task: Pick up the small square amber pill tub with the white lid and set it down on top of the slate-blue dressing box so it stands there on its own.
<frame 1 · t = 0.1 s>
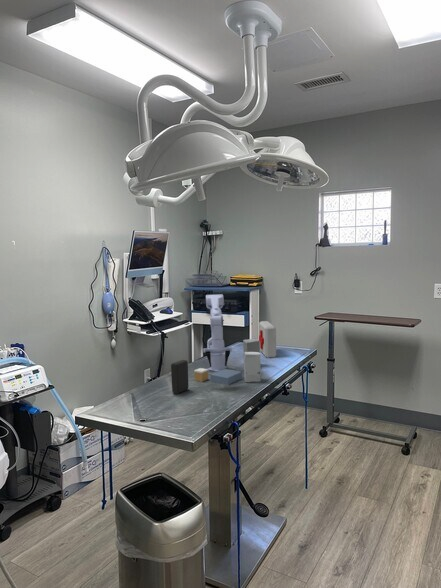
hand: (218, 366, 219), 10 cm above the table, tool pointing down, fingers open, 7 cm apart
dressing box: (226, 380, 232), on the table
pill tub: (201, 379, 233), on the table
card reader: (180, 391, 215), on the table
skincare box: (251, 366, 256), on the table
skincare box 2: (252, 380, 229), on the table
bevelled white case: (266, 354, 283), on the table
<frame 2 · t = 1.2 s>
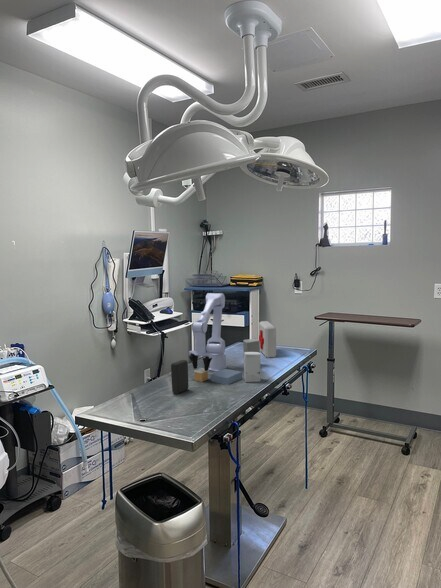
hand: (200, 369, 232), 6 cm above the table, tool pointing down, fingers open, 7 cm apart
nothing on the table moved.
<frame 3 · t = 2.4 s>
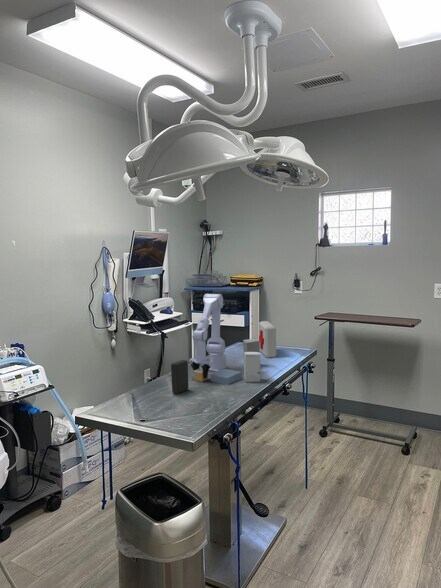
hand: (201, 377, 233), 1 cm above the table, tool pointing down, fingers closed on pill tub, 5 cm apart
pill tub: (201, 379, 233), on the table, touching gripper
everything else where it was.
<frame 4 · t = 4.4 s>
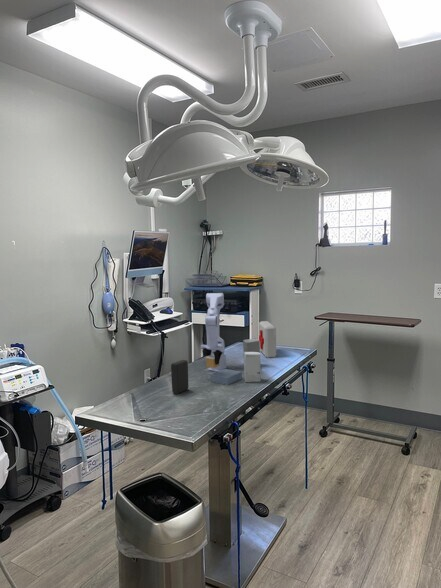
hand: (212, 363, 231), 9 cm above the table, tool pointing down, fingers closed on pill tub, 5 cm apart
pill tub: (212, 366, 231), point 7 cm above the table, touching gripper
everything else where it was.
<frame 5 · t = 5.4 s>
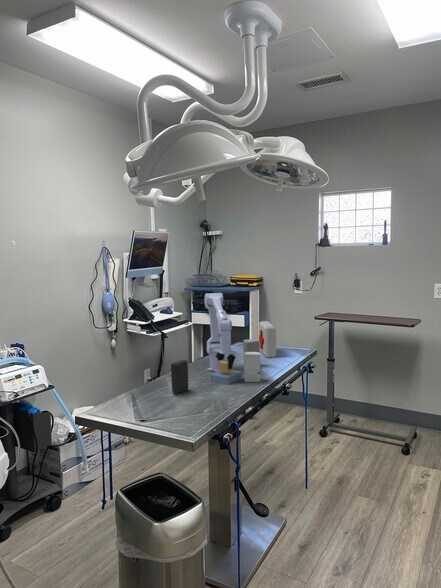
hand: (226, 367, 231), 6 cm above the table, tool pointing down, fingers closed on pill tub, 5 cm apart
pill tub: (226, 370, 231), point 5 cm above the table, touching gripper
everything else where it was.
when the fingers open (6 cm above the table, at t = 6.4 s): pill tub drops 1 cm, point 4 cm above the table.
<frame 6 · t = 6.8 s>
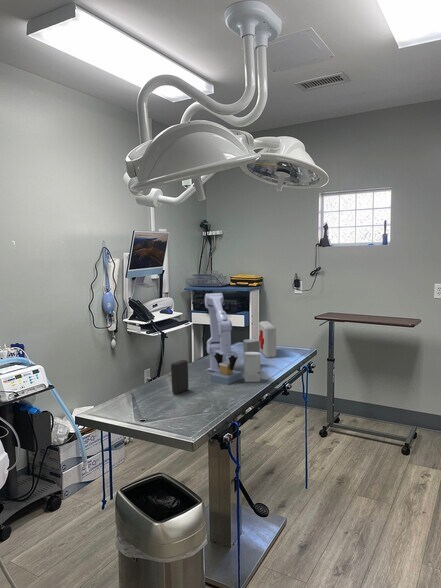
hand: (226, 368, 231), 6 cm above the table, tool pointing down, fingers open, 7 cm apart
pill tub: (226, 373, 231), point 4 cm above the table
everything else where it was.
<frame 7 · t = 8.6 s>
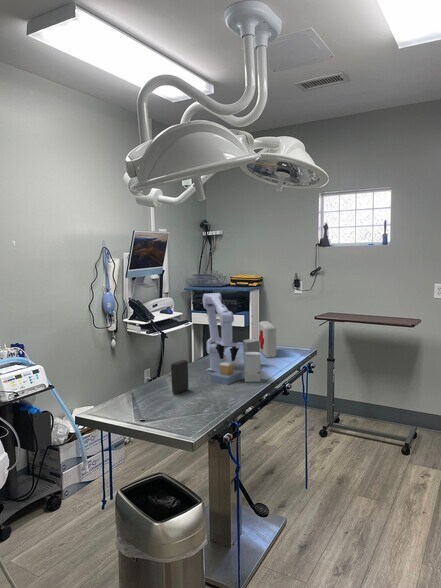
hand: (227, 359, 232), 10 cm above the table, tool pointing down, fingers open, 7 cm apart
nothing on the table moved.
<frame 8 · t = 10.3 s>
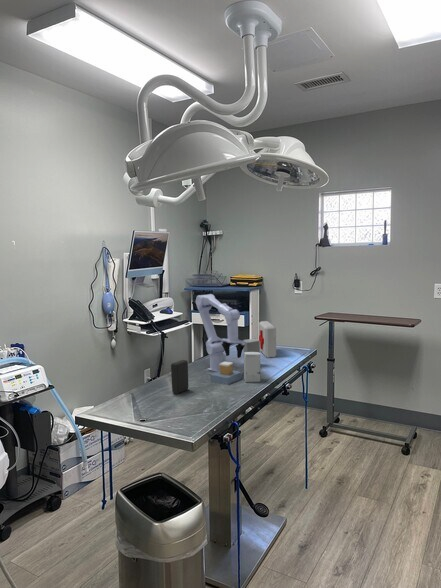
hand: (233, 356, 238), 10 cm above the table, tool pointing down, fingers open, 7 cm apart
dressing box: (226, 380, 232), on the table, touching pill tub
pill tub: (226, 373, 231), point 4 cm above the table, touching dressing box
everything else where it was.
at the end: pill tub inside the target area on the dressing box (0.2 cm from its centre), point 4.0 cm above the dressing box's base; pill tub tilted 0°; the gripper is holding nothing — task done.
